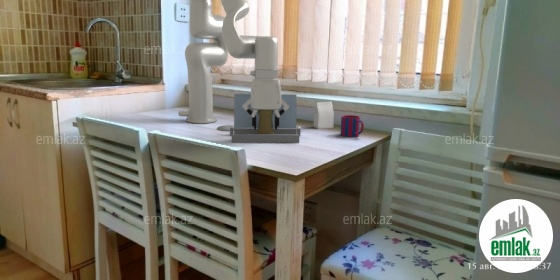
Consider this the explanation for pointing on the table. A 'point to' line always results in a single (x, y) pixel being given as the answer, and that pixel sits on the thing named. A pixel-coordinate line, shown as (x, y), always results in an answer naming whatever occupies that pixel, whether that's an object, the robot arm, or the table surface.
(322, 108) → the white printed box
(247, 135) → the bar
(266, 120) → the cork
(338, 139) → the table surface
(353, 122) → the mug
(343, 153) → the table surface
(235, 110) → the panel
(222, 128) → the pad
